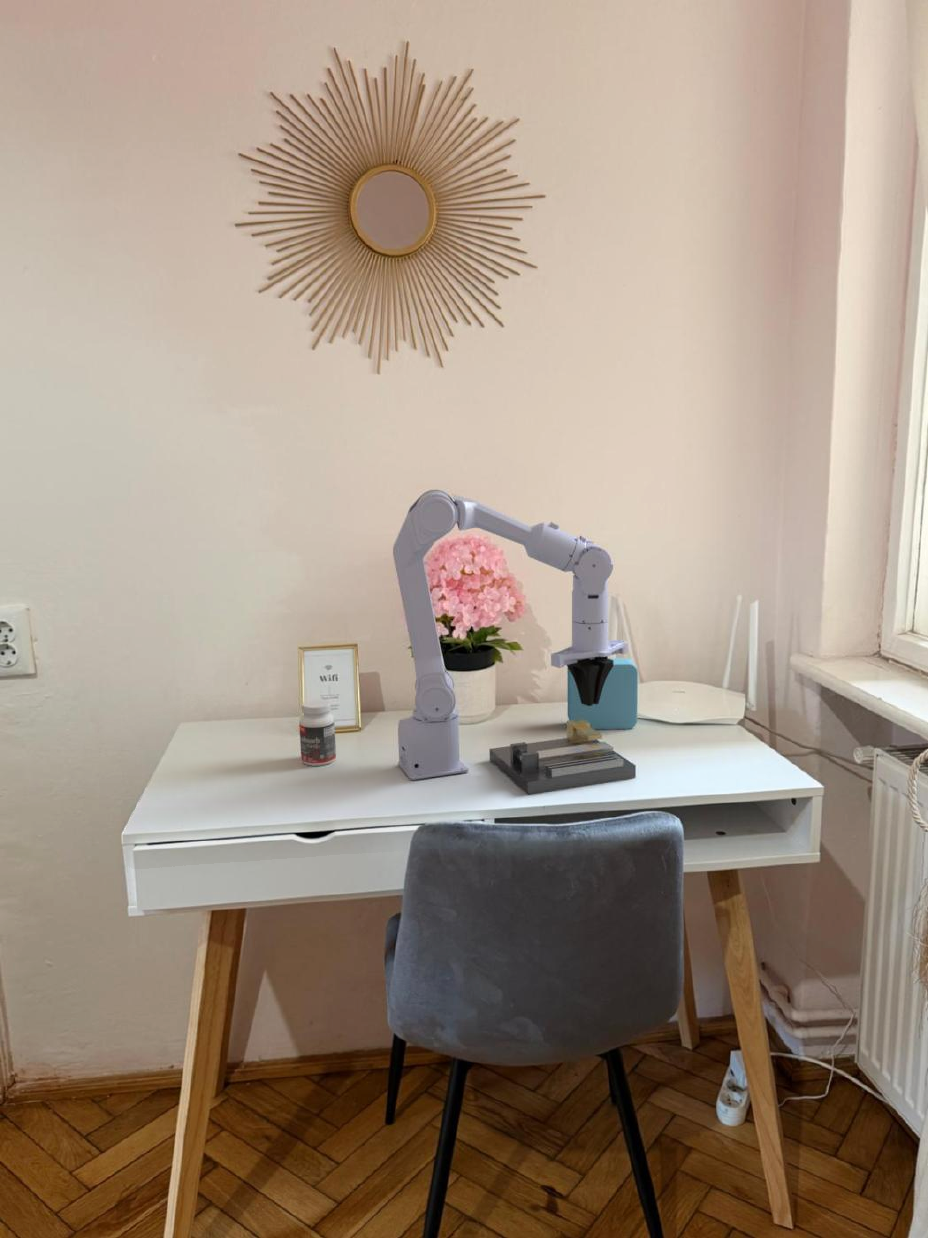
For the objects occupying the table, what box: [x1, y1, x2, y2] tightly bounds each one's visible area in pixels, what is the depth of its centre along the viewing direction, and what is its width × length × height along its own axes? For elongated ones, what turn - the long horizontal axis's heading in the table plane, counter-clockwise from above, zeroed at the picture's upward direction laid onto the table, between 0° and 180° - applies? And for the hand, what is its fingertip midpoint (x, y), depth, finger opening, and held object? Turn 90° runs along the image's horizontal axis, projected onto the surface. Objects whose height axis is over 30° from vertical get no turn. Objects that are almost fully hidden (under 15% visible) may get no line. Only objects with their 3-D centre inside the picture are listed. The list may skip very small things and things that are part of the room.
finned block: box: [489, 737, 637, 796], centre depth 159 cm, size 18×16×5 cm
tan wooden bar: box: [517, 741, 614, 762], centre depth 157 cm, size 15×3×1 cm, turn 109°
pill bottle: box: [298, 699, 337, 767], centre depth 165 cm, size 6×6×10 cm
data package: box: [566, 657, 639, 731], centre depth 179 cm, size 12×4×12 cm, turn 89°
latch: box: [566, 719, 603, 744], centre depth 164 cm, size 3×7×3 cm, turn 19°
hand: (589, 703), depth 160 cm, fingers closed
